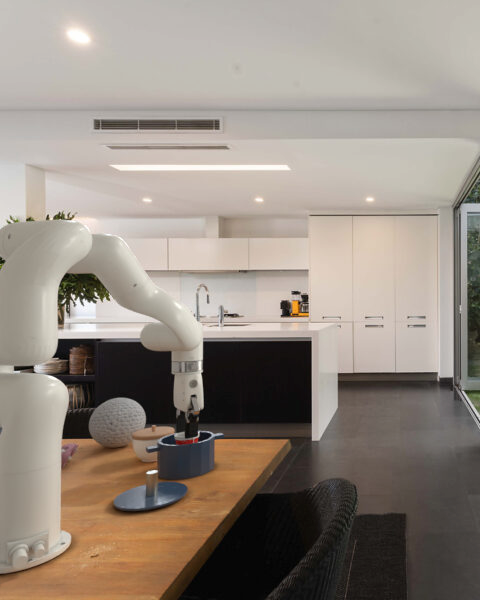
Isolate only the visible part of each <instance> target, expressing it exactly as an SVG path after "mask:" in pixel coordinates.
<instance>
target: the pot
mask: <svg viewBox="0 0 480 600" xmlns="http://www.w3.org/2000/svg"><path fill="white" fill-rule="evenodd" d="M198 432H199V433H200V434H199V437H198V442H196V443H191V444H183V445H176V439H175V437H174V436H175V434H177V432H175V433H174V434H171V435H167V436H164V437H162V438H160V439H159V440H158V442H157V445H155V446H149V447H146V452H148V453H152V452H157V461H156V470H157V471H158V478H161V479H164V480H174V481H175V480H186V479H187V480H188V479H192V478H196V477H197V478H198V477H200V476H203V475H206V474H207V473H210V472H212V471H213V470H214V468H215V464H216V463H215V462H216V461H215V459H216V458H215V457H216V455H215V454H216V453H215V452H216V451H215V449H216V448H215V447H216V446H215V445H216V443H215V442H216V440H217V441H218V440H222V439H225V434H224V433H222V432H218V433H213V432H212V431H207V430H198Z"/></svg>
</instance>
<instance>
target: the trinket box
mask: <svg viewBox="0 0 480 600" xmlns="http://www.w3.org/2000/svg"><path fill="white" fill-rule="evenodd" d="M174 433H176V428H174V427H171V426H157V425H155V424H153V425H151V427H144V429H141V430H138V431H136V432H134V433H133V434H132V442H131V443H132V450H133V453H134V454H135V456H136V457H137V458H138V459H140V461H141V462H142V463H143V462H144V463H154V462H157V452H152V453H148V452H146V447H149V446H155V445H157V442H158V440H159V439H160V438H162V437H164V436H167V435H171V434H174Z"/></svg>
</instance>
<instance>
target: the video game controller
mask: <svg viewBox="0 0 480 600" xmlns="http://www.w3.org/2000/svg"><path fill="white" fill-rule="evenodd" d="M78 448H79V445H78V444H76V443H71V442H69V443H67V444H64V445H62V448H61V469H64V467H65V465H67V464H68V463H70V462H71V461H72V458H73V456H74V455H75V454H76V452H77V450H78Z"/></svg>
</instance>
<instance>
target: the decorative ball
mask: <svg viewBox="0 0 480 600" xmlns="http://www.w3.org/2000/svg"><path fill="white" fill-rule="evenodd" d="M146 423H147V416H146V412H145V410H144V408H143V406H142V405H141V404H140V403H139V402H137V401H136V400H134V399H132V398H128V397H113V398H110V399H108V400H106V401H105V402H104V401H103V403H101V404H100V405H99V406H97V407H96V408H95V409H94V411H93V412H92V414H91V415H90V418H89V421H88V431H89V434H90V436H91V438H92V439H93V440H94V441H95V442H96V443H97V444H98V445H101V446H102V447H105V448H110V449H111V448H121V447H125V446H127V445H130V444H131V443H132V434H133V433H134V432H136V431H138V430H141V429H145V428H146Z"/></svg>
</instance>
